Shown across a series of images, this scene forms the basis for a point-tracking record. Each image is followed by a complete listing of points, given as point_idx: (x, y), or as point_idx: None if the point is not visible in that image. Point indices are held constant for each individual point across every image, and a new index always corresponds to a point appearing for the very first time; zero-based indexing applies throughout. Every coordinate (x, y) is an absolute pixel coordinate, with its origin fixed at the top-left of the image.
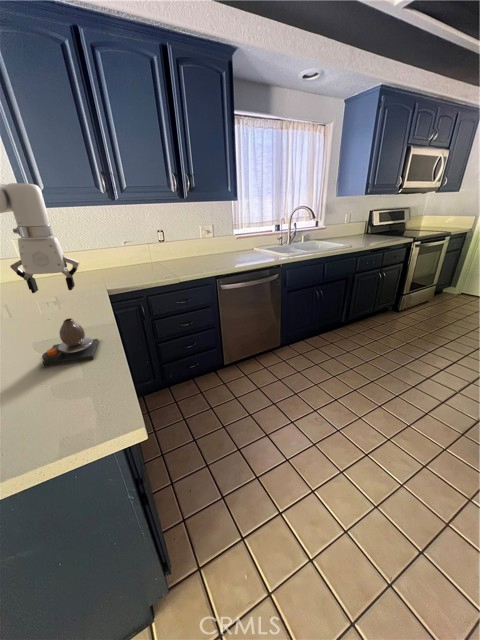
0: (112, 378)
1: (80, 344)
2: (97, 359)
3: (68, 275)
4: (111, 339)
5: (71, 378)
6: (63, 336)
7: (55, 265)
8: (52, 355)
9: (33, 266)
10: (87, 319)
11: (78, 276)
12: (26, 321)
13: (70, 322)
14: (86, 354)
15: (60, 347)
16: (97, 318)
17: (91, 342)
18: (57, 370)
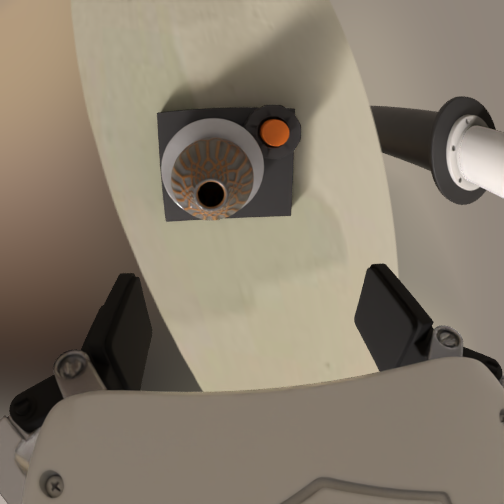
0: (101, 17)
1: None
2: (147, 108)
3: (76, 370)
4: (134, 223)
5: (201, 30)
6: (232, 144)
7: (98, 487)
8: (270, 119)
9: (447, 447)
10: (238, 354)
11: None
12: (368, 359)
13: (198, 176)
14: (176, 122)
15: (255, 155)
16: (213, 355)
17: (161, 164)
18: (249, 77)
